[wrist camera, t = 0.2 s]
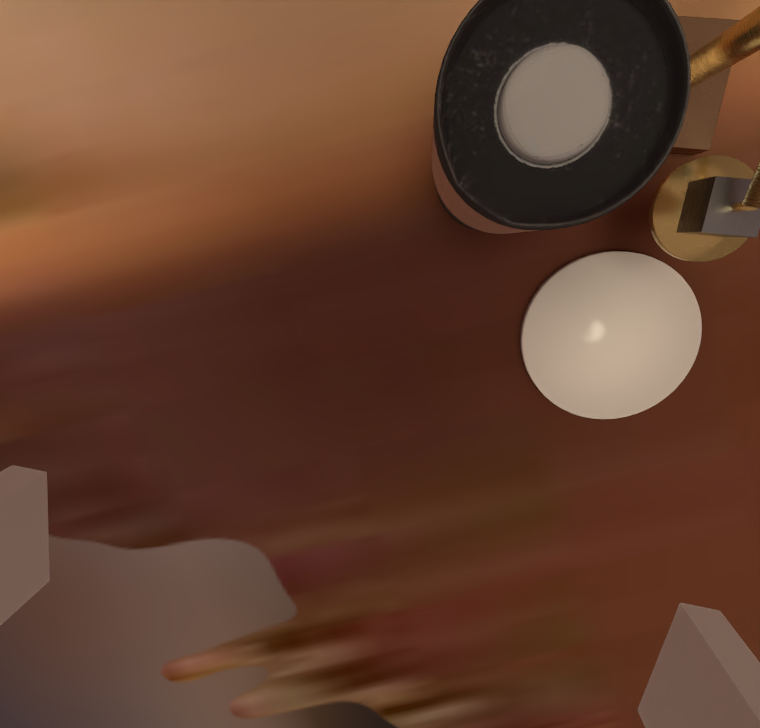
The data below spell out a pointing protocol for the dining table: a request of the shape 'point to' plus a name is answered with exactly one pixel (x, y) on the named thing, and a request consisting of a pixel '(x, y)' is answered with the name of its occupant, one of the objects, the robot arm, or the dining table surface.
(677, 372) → the cream round disc
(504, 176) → the travel mug
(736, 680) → the robot arm
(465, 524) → the dining table surface
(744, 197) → the balance
